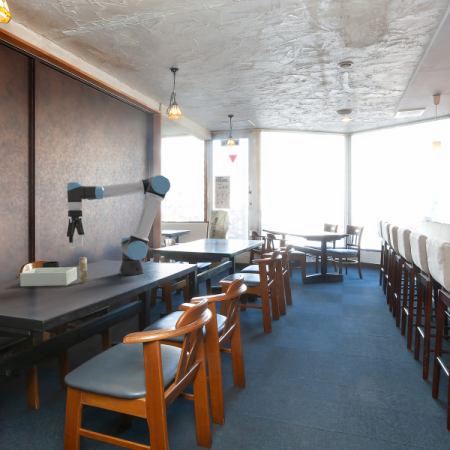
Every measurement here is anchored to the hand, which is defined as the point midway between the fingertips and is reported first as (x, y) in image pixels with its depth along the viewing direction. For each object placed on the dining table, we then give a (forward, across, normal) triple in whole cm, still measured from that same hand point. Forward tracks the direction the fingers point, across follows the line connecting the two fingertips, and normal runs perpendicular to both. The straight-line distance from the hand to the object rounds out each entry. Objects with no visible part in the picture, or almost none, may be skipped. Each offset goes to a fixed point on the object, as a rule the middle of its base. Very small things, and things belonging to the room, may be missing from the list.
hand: (76, 247), depth 210 cm
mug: (+20, -16, -20) cm, 33 cm away
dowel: (+20, +2, +4) cm, 20 cm away
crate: (+20, +1, -15) cm, 25 cm away
